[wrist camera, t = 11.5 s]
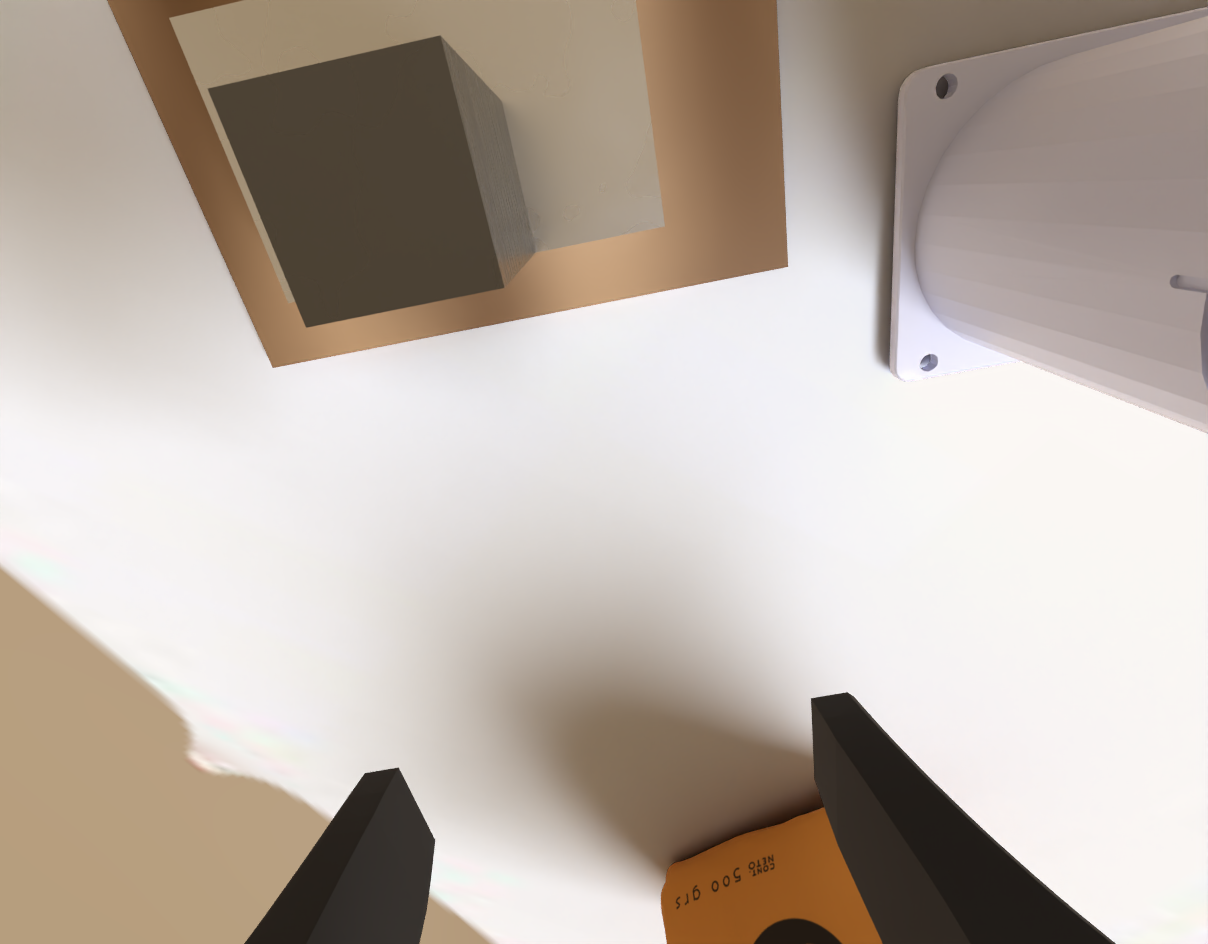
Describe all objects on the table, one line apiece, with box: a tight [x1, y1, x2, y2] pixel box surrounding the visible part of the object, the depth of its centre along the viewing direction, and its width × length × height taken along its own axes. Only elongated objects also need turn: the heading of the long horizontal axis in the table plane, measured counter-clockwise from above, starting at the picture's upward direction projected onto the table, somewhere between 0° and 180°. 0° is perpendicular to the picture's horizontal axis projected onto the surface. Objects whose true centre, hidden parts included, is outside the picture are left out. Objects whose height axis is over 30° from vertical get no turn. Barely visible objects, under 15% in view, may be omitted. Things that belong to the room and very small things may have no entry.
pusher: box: [169, 0, 665, 328], centre depth 11 cm, size 9×6×8 cm, turn 101°
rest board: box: [107, 0, 788, 368], centre depth 15 cm, size 15×9×1 cm, turn 101°
